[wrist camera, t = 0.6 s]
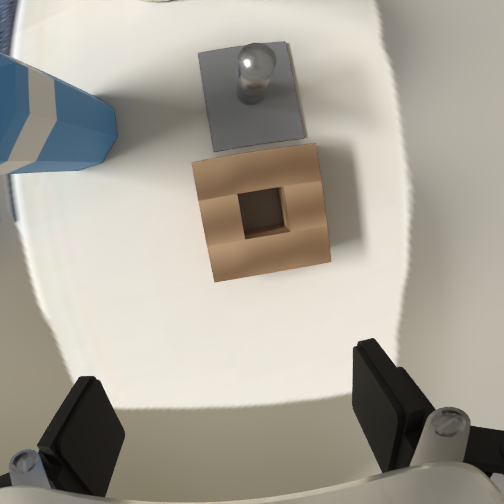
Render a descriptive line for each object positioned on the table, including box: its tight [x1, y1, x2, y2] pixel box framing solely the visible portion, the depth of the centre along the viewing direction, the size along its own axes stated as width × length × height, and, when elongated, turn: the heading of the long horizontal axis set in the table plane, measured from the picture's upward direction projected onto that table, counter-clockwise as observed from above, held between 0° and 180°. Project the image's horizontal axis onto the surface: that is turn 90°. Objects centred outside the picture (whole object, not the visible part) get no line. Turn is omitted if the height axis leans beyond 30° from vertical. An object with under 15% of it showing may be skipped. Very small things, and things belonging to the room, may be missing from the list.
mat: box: [198, 41, 304, 152], centre depth 33 cm, size 12×10×1 cm
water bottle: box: [0, 53, 118, 175], centre depth 20 cm, size 9×9×25 cm
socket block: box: [192, 143, 331, 282], centre depth 33 cm, size 12×12×5 cm
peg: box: [237, 43, 276, 105], centre depth 27 cm, size 3×3×11 cm
